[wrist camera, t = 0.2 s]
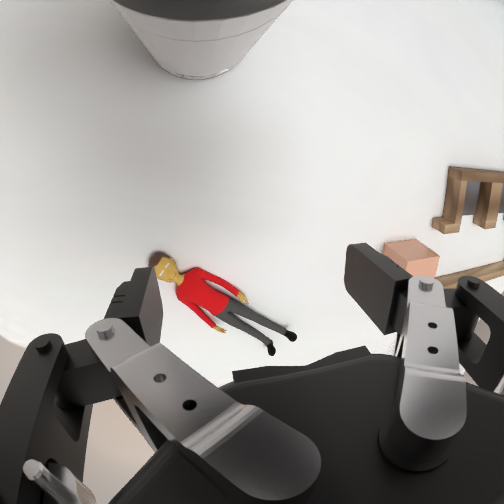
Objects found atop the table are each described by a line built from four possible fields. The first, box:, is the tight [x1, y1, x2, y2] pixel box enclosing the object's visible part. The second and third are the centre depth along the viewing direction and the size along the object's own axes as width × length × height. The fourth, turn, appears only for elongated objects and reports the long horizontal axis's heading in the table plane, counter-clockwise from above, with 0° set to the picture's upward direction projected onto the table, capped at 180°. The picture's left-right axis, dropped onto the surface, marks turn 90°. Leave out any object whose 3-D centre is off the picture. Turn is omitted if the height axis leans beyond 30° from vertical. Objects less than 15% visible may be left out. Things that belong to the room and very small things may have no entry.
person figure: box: [149, 253, 297, 356], centre depth 32 cm, size 5×4×18 cm
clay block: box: [383, 239, 440, 278], centre depth 33 cm, size 5×5×5 cm
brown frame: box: [432, 167, 504, 289], centre depth 35 cm, size 17×23×2 cm
